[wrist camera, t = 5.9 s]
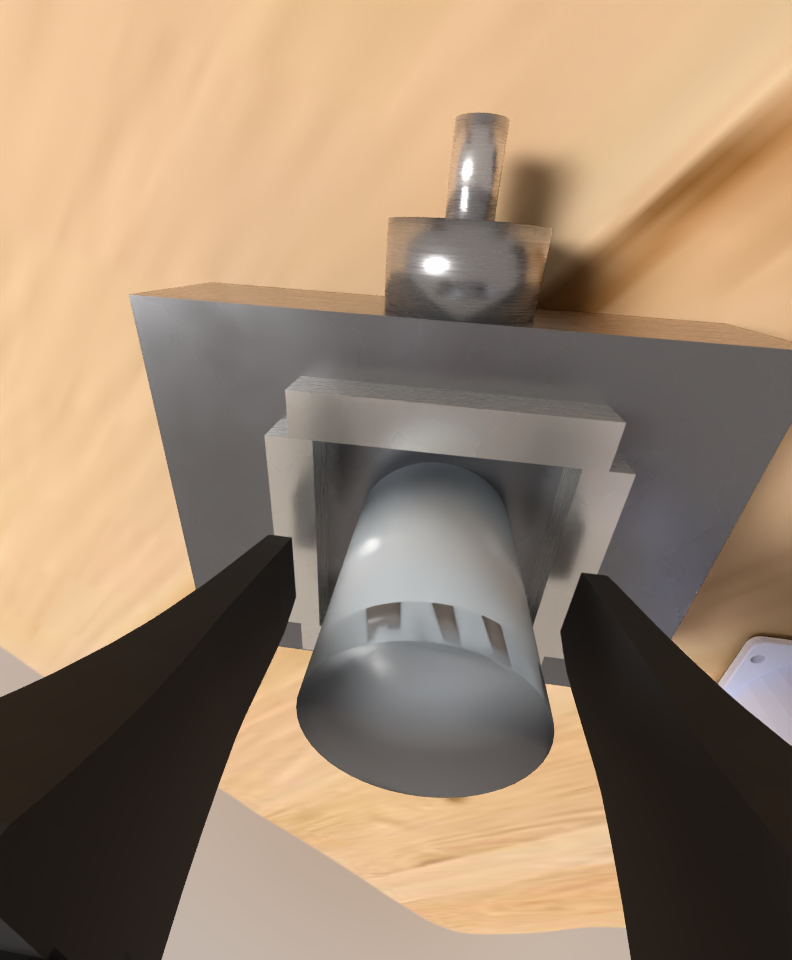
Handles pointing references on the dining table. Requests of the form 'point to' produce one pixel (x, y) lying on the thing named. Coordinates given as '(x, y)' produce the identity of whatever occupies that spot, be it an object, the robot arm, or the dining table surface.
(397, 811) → the dining table surface
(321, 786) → the dining table surface
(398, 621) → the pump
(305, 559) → the grey square pedestal
